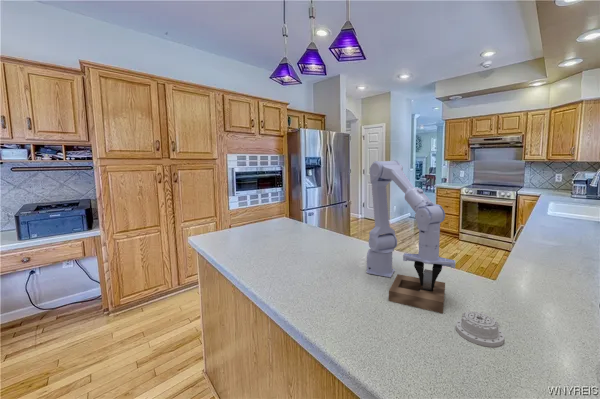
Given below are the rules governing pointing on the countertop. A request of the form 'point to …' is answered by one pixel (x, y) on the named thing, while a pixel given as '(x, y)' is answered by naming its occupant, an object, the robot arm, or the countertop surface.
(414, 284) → the keyhole plate
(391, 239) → the robot arm
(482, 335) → the mechanical component
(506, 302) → the countertop surface
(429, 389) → the countertop surface
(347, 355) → the countertop surface
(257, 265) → the countertop surface
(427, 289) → the footed peg
